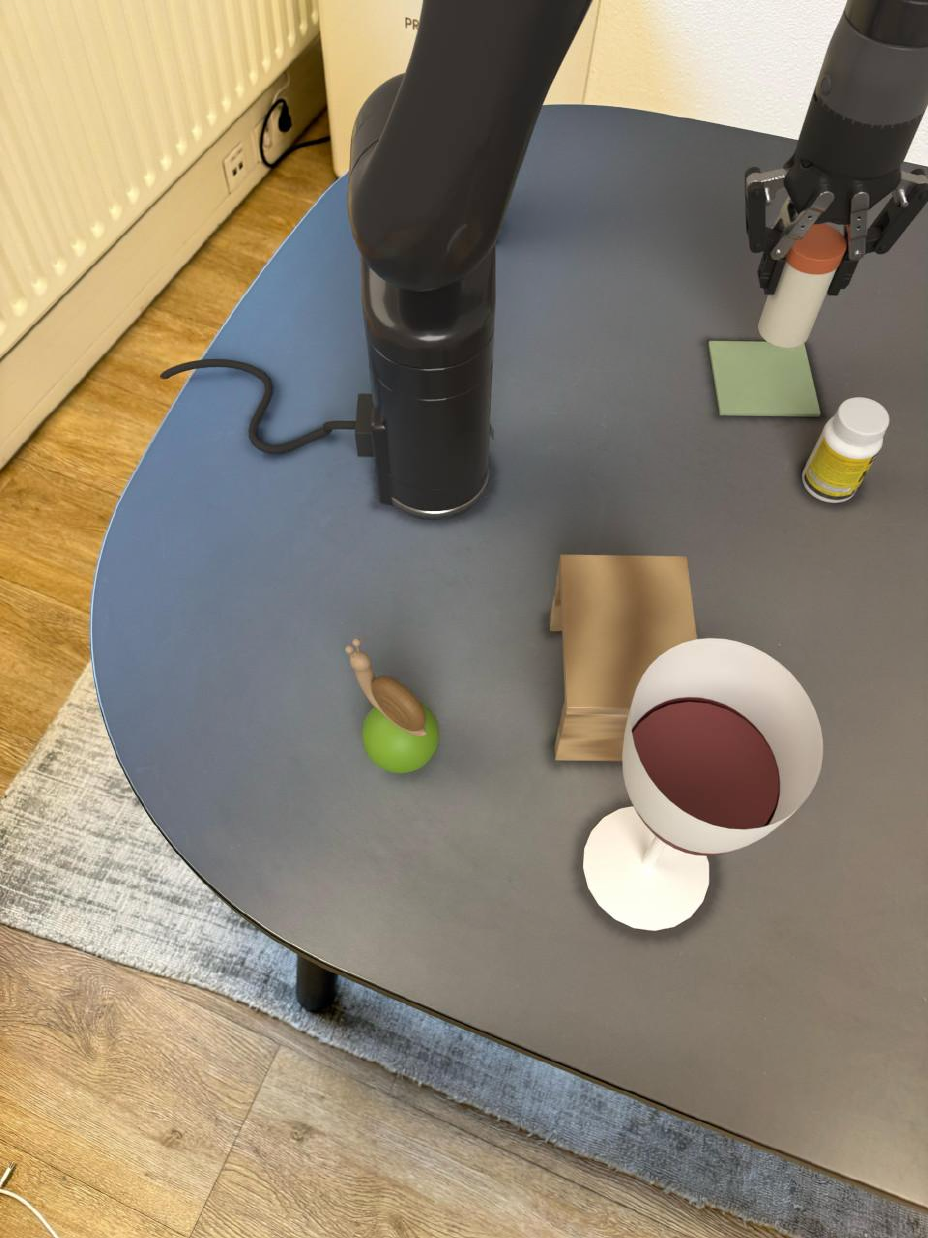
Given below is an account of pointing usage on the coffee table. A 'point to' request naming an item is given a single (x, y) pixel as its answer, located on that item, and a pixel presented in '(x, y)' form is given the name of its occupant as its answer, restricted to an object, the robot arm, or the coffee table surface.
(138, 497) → the coffee table surface
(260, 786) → the coffee table surface
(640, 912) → the wineglass
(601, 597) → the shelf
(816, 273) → the spice bottle
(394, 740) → the snail figurine
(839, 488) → the supplement bottle
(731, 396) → the mat
